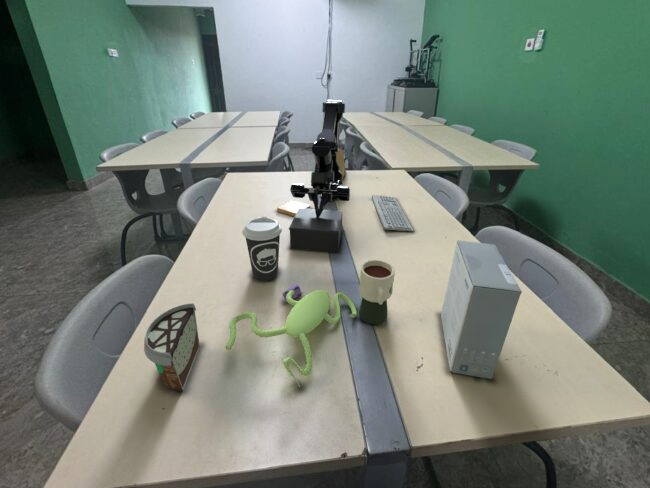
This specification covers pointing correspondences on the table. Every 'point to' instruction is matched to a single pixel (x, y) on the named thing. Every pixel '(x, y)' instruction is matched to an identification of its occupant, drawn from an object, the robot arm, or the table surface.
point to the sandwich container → (341, 161)
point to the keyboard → (391, 213)
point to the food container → (173, 345)
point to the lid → (317, 221)
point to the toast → (292, 207)
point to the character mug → (375, 290)
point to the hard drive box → (477, 308)
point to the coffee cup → (263, 246)
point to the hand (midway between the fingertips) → (317, 217)
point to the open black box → (315, 240)
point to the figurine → (298, 320)
